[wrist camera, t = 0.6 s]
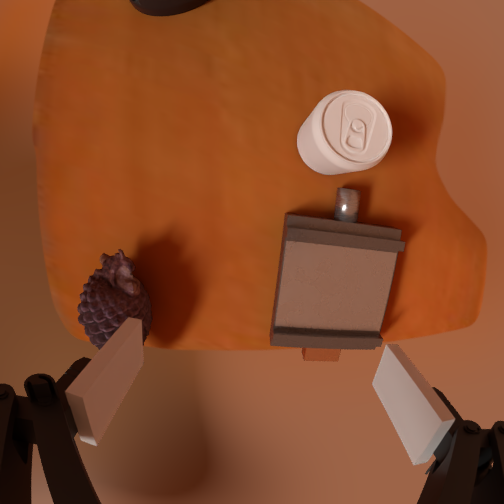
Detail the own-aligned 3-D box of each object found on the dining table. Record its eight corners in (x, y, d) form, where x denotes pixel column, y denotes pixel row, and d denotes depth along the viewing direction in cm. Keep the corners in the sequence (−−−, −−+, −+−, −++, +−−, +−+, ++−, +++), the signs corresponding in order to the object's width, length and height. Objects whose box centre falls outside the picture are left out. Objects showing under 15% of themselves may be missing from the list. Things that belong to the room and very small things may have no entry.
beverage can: (361, 124, 35) (401, 102, 23) (350, 182, 37) (389, 180, 25) (302, 107, 35) (322, 75, 23) (290, 166, 37) (306, 156, 25)
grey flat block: (288, 181, 37) (293, 180, 33) (395, 198, 37) (411, 199, 33) (267, 349, 42) (268, 366, 37) (364, 353, 42) (373, 368, 37)
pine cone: (165, 357, 42) (146, 397, 33) (108, 349, 42) (80, 383, 33) (158, 242, 39) (129, 259, 29) (95, 239, 39) (55, 255, 29)
